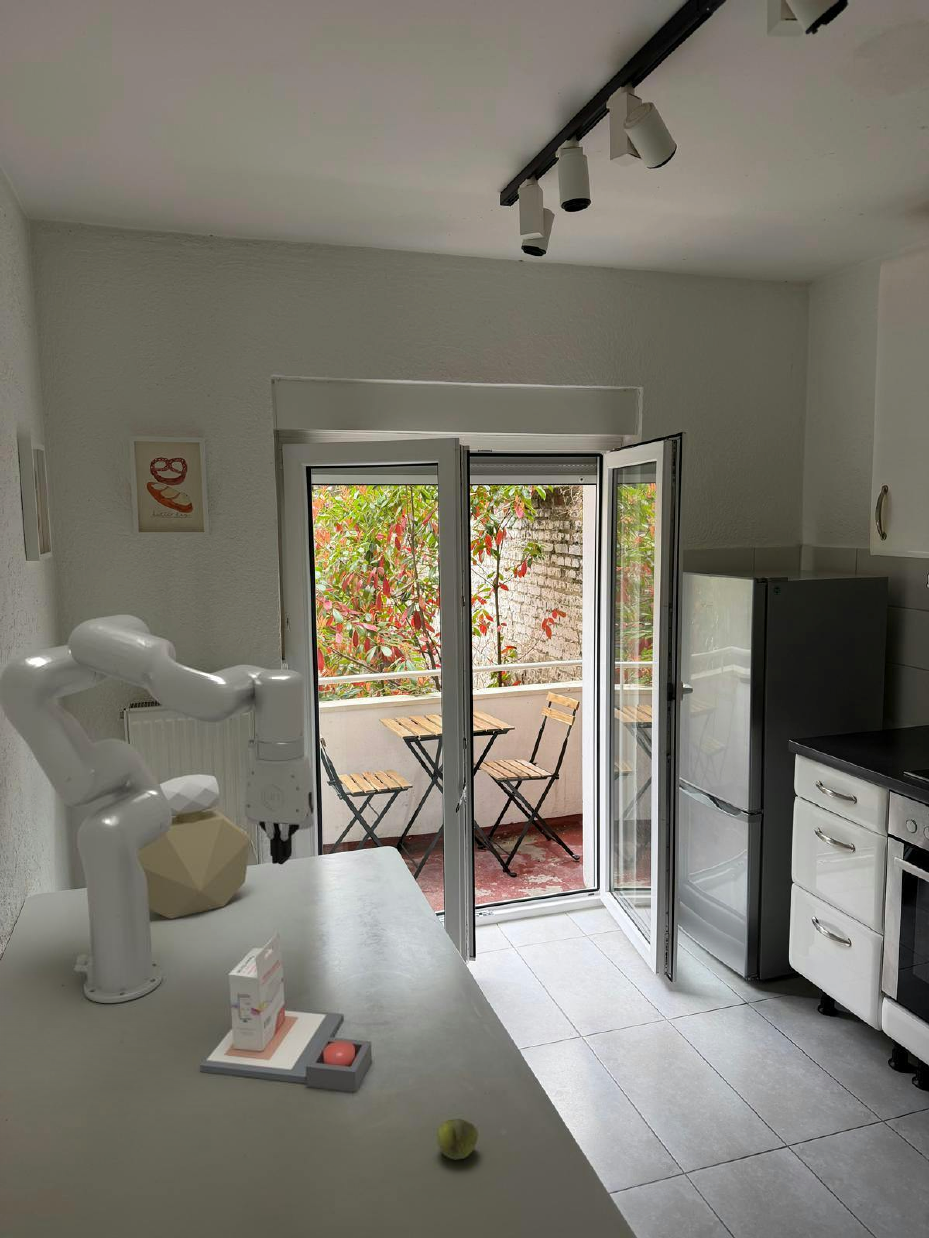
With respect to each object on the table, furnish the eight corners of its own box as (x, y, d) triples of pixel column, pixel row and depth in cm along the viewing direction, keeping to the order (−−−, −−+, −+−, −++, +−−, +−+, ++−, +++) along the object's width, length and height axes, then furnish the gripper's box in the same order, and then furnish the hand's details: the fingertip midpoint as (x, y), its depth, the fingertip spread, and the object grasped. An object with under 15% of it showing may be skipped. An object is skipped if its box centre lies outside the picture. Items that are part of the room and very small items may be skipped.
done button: (319, 1077, 122) (318, 1057, 122) (330, 1058, 127) (329, 1039, 126) (349, 1081, 121) (348, 1061, 121) (359, 1062, 126) (358, 1042, 125)
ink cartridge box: (256, 1017, 136) (252, 927, 135) (286, 1020, 135) (282, 929, 134) (231, 1049, 128) (226, 954, 126) (262, 1053, 127) (258, 957, 125)
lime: (432, 1154, 108) (431, 1116, 107) (464, 1137, 111) (463, 1100, 110) (452, 1175, 104) (451, 1136, 104) (485, 1158, 107) (484, 1120, 106)
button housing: (306, 1086, 121) (305, 1066, 121) (324, 1055, 128) (324, 1036, 128) (356, 1092, 120) (355, 1071, 120) (371, 1060, 127) (371, 1041, 127)
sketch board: (200, 1071, 125) (200, 1062, 125) (249, 1010, 141) (248, 1002, 141) (305, 1083, 122) (305, 1074, 122) (343, 1019, 138) (343, 1011, 137)
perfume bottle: (260, 904, 180) (254, 772, 177) (138, 933, 168) (129, 793, 165) (243, 884, 191) (237, 759, 188) (127, 910, 179) (118, 777, 176)
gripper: (224, 751, 135) (226, 864, 137) (314, 758, 132) (315, 875, 134) (247, 739, 142) (249, 847, 144) (333, 746, 139) (333, 856, 141)
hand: (281, 860), depth 139 cm, fingers closed
